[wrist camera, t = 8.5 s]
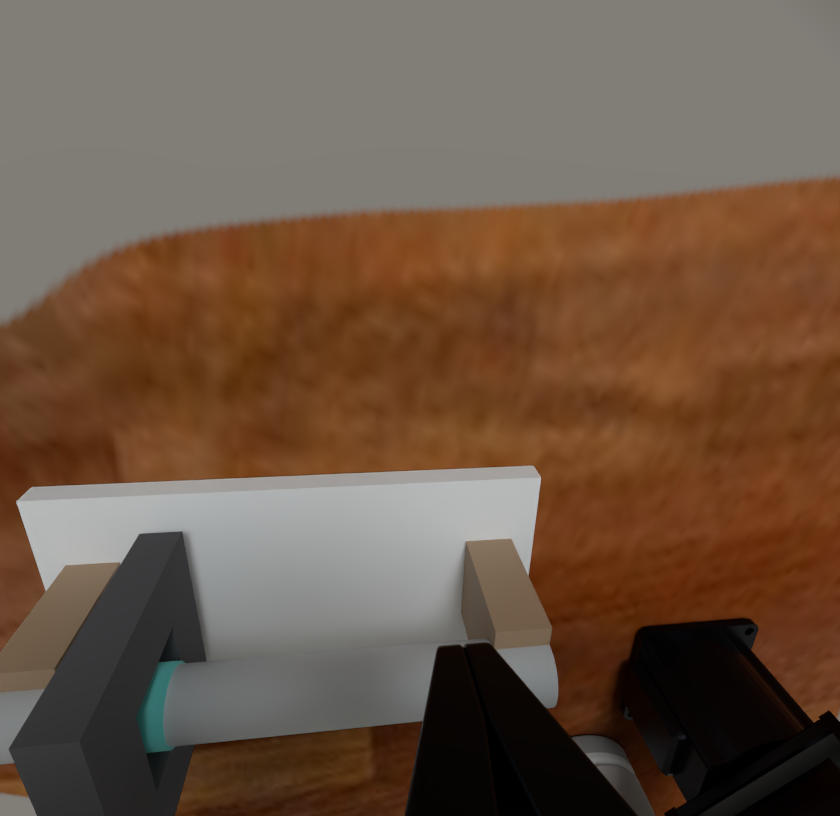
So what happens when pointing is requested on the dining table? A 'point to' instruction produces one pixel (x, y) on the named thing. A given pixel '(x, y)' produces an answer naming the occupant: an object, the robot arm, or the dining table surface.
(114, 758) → the dark grey flat block
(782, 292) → the dining table surface
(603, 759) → the travel mug
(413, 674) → the pipe stand
